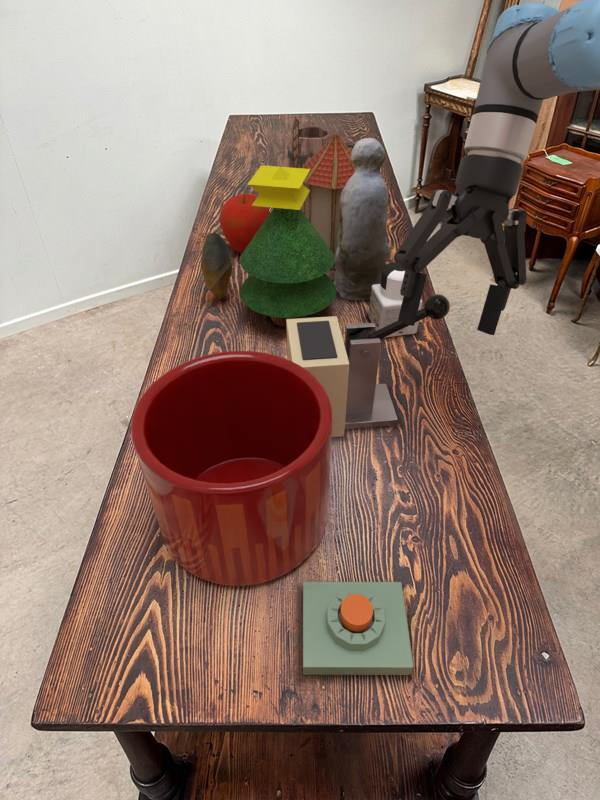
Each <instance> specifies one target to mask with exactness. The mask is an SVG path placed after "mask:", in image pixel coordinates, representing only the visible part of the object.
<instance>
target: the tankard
mask: <svg viewBox="0 0 600 800" xmlns="http://www.w3.org/2000/svg"><path fill="white" fill-rule="evenodd" d="M331 136H332V133H331V131H330V130H327V129H325V128H322V127H320V126H311V125H308V126H303V127H299V158H298V168H300V167H301V165H302V163H303V161H304V160H305V158H306V157H307V156H308V155H309V153H310V152H311V155H312V157H313V156H314V155H315V154H316V153H317V152H318V151H319V150H320V149H321V148H322V147H323V146H324V145H325V144H326V143H327V142H328V140H329V139H330V138H331ZM344 144H345V145H346V146H347V147H348V148H349V149H350V148H351V149H353V148H354V146H355V144H356V143H354V142H352V141H347V142H344ZM287 158H288V161H287V163H288V165H287V167H290V168H294V160H293V130H291V132H290V139H289V145H288V147H287ZM302 184H303V185H304V183H302ZM300 210H301V211H302V212H303V214H304V203H303V205H302V207H301V208H300Z"/></svg>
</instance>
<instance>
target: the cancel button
mask: <svg viewBox="0 0 600 800" xmlns="http://www.w3.org/2000/svg"><path fill="white" fill-rule="evenodd" d="M372 616H373V607H372V604H371V602H370V601H369V600H368V599H367V598H366V597H365V596H363V595H359V594H352V595H349V596H347V597H346V598H345V599H344V600H343V602H342V604H341V610H340V619H341V622H342V624H343V625H344V626H345V627H346V628H347V629H348V630H350V631H353V632H361V631H364V630H366V629H367V628H368V627H369V626H370V624H371V621H372Z"/></svg>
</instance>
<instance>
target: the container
mask: <svg viewBox="0 0 600 800" xmlns="http://www.w3.org/2000/svg"><path fill="white" fill-rule="evenodd" d="M404 273H405V269H404V268H402V267H401V264H399V263H398V262H395V261H393V262H389V263H386V264H385V266H384V267H383V268H382V273H381V282H380V284H375V285H372V288H371V298H370V300H369V308H368V309H369V310H368V319H369V320H370V323H374V324H375V331H377V330H379V329H381V328H383V327H385V326H387V325H389V324H392V323H394V322H396V321H398V317H399V313H400V309H401V305H402V301H403V297H404V296H402V295H401V293H400V290H401V287H402V282H403V278H404ZM422 304H423V300H422V299H421V301H420V305H419V309H418V311H419V310H421V309H422V306H423V305H422ZM419 322H420V321H418V322H416V323H415V324H414V326H411V325H409V326H407V327H405V328H403V329H401V330H399V331H397V332H395V333H393V334H390V335H388V336H386V337H384V338H383V339H385V338H392V337H399V336H408V335H415V334H417V333H418V327H419Z"/></svg>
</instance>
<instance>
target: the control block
mask: <svg viewBox="0 0 600 800" xmlns="http://www.w3.org/2000/svg"><path fill="white" fill-rule="evenodd" d="M352 594H359V595H363V596H365V597H366V598H367V599H368V600H369V601H370V602H371V604H372V607H373V616H372V621H371V624H370V626H369V627H368V628H367V629H366V630H364V631H361V632H353V631H350V630H348V629H347V628H346V627H345V626H344V625H343V624H342V622H341V619H340V610H341V604H342V602H343V600H344V599H345V598H346V597H347V596H349V595H352ZM412 653H413V652H412V647H411V639H410V633H409V624H408V618H407V611H406V605H405V598H404V590H403V583H402V581H303V582H302V675H304V676H306V675H308V676H310V675H311V676H412V673H413V671H414V660H413V654H412Z"/></svg>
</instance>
